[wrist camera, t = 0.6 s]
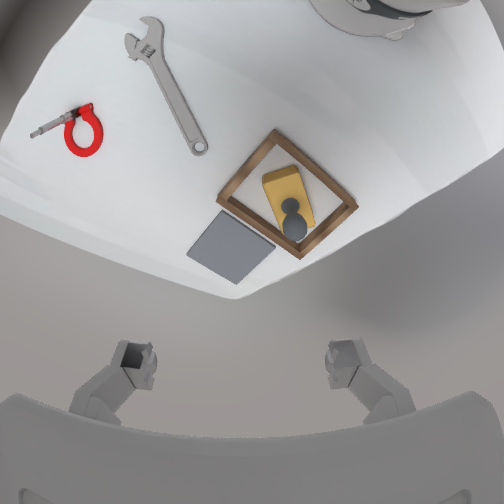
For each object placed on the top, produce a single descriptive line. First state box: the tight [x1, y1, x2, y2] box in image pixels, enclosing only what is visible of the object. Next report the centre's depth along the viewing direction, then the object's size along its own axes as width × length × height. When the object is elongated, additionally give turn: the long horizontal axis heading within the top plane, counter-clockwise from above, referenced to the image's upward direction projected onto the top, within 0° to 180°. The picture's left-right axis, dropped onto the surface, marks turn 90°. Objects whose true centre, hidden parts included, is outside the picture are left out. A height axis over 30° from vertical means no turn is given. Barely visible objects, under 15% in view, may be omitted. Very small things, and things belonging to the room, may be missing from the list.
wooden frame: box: [216, 129, 359, 260], centre depth 44 cm, size 14×18×2 cm
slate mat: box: [187, 210, 276, 285], centre depth 51 cm, size 12×12×1 cm
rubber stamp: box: [262, 165, 316, 241], centre depth 40 cm, size 10×6×12 cm, turn 22°
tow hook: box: [30, 103, 103, 157], centre depth 32 cm, size 8×13×9 cm
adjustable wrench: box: [125, 17, 208, 156], centre depth 33 cm, size 25×6×2 cm, turn 17°
